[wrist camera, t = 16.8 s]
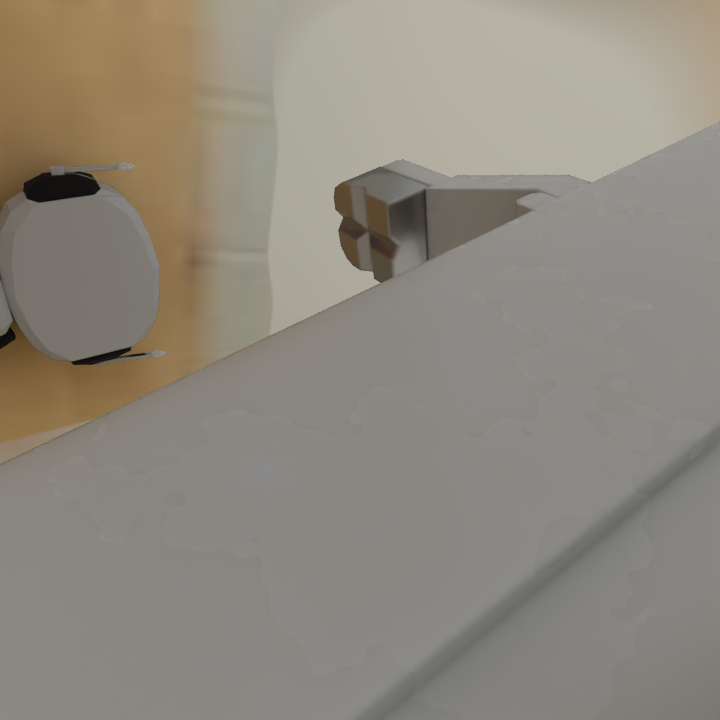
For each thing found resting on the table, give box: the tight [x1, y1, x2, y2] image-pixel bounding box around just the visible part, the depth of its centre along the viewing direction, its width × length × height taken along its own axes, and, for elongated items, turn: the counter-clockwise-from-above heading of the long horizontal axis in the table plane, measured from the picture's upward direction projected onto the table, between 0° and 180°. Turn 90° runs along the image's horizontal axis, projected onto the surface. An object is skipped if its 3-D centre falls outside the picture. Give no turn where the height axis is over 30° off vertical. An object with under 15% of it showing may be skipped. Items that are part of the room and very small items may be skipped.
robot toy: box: [0, 163, 166, 366], centre depth 36 cm, size 12×4×15 cm
